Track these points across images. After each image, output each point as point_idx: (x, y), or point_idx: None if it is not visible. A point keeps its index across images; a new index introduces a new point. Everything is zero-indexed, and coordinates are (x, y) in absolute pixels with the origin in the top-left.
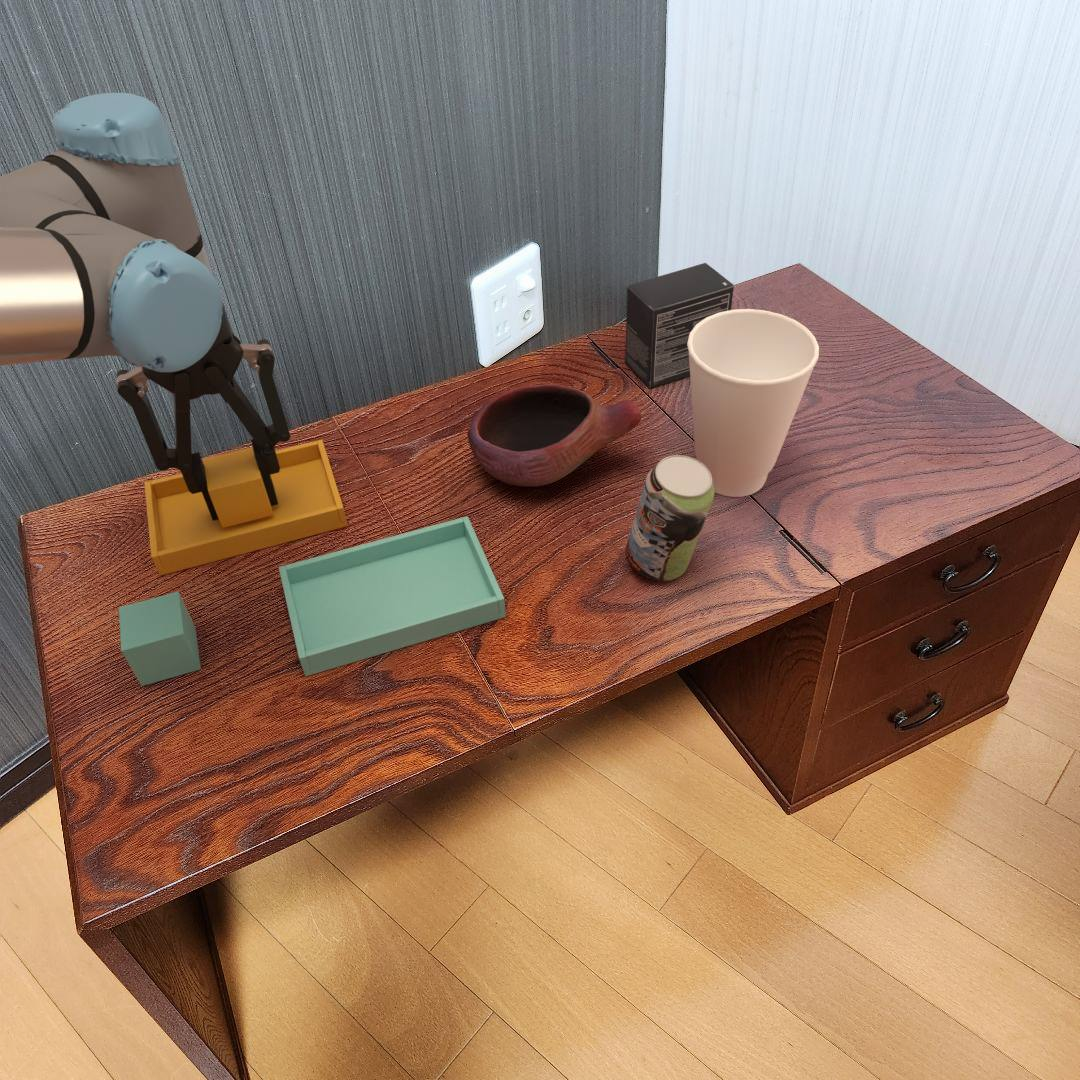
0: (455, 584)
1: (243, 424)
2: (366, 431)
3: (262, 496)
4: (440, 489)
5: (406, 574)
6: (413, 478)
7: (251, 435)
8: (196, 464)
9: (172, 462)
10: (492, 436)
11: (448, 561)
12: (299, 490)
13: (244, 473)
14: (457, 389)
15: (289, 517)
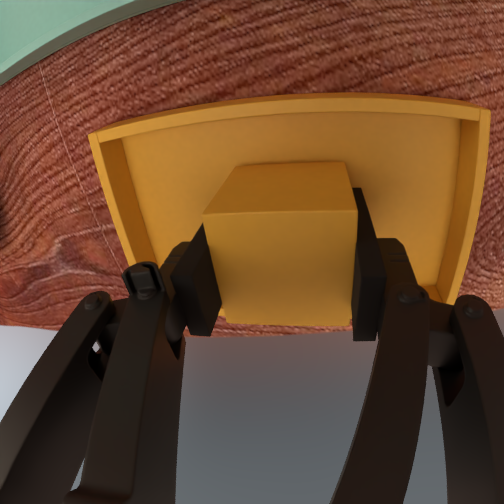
0: (2, 2)
1: (145, 382)
2: None
3: (229, 187)
4: (21, 178)
5: (39, 8)
6: (49, 207)
7: (154, 336)
8: (371, 300)
9: (441, 317)
10: None
11: (2, 38)
12: (193, 226)
13: (247, 246)
14: (51, 325)
15: (208, 159)
